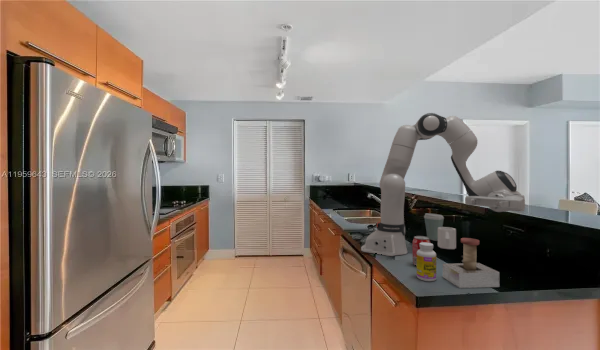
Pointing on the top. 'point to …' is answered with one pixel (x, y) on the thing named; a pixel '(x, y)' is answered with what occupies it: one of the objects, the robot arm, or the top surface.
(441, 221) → the disposable coffee cup
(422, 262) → the supplement bottle
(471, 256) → the wooden pin
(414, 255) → the soda can
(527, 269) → the top surface
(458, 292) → the top surface
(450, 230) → the mug
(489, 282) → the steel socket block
